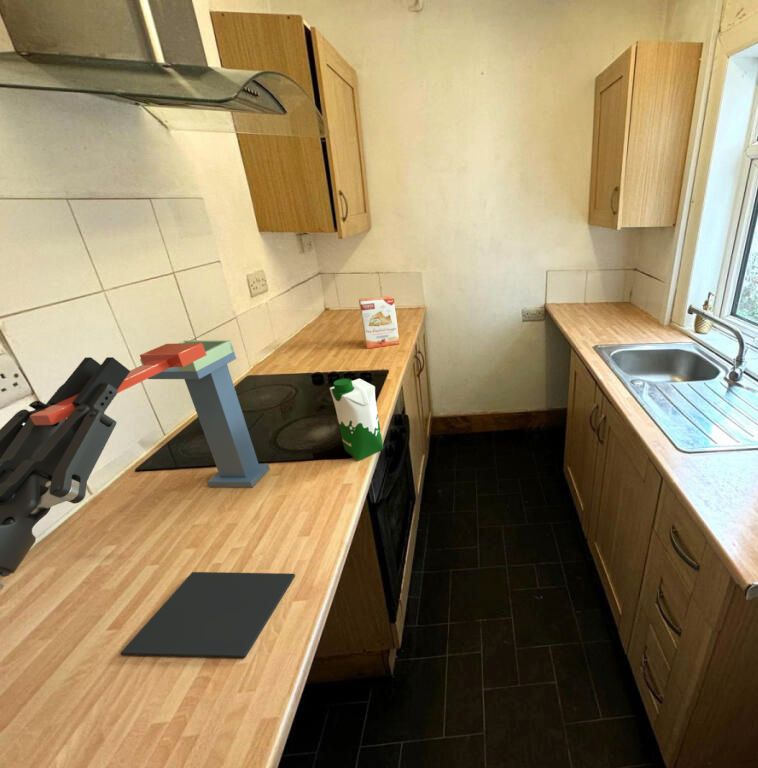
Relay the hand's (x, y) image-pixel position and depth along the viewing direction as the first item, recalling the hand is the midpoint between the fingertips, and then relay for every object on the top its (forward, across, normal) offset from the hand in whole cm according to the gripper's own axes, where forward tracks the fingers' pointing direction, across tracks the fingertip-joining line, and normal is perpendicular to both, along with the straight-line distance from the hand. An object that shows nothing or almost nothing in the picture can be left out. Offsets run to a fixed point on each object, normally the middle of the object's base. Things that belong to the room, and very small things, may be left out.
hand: (108, 364), depth 51 cm
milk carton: (+17, +9, -58) cm, 61 cm away
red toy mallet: (0, 0, -4) cm, 4 cm away
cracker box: (+90, -13, -99) cm, 135 cm away
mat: (-22, +2, -34) cm, 41 cm away
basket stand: (+5, -16, -50) cm, 53 cm away
